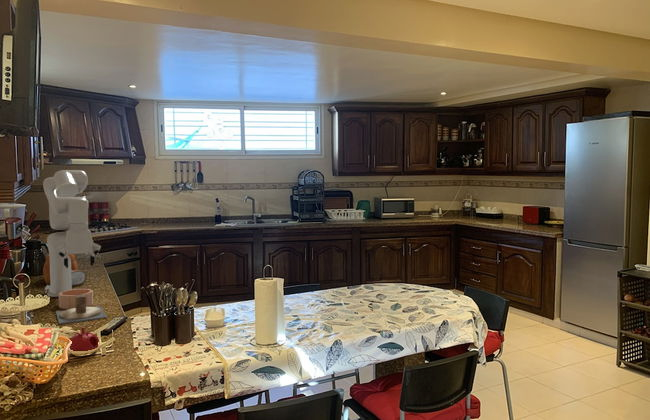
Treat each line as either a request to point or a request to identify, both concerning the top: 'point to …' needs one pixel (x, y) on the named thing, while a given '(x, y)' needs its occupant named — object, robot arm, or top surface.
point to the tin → (78, 277)
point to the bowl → (69, 298)
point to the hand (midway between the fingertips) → (79, 266)
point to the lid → (80, 309)
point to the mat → (65, 321)
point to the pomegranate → (84, 341)
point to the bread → (47, 267)
